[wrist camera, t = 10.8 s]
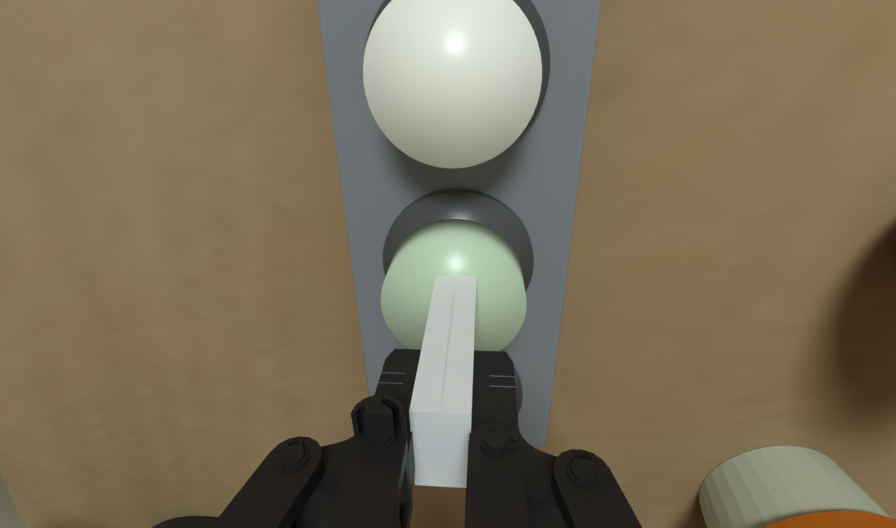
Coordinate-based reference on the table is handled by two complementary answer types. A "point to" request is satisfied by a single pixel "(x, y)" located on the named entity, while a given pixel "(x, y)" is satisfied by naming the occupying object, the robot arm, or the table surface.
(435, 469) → the robot arm
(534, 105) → the cream button
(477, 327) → the sage button
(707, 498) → the reusable coffee cup
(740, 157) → the table surface
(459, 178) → the button panel
